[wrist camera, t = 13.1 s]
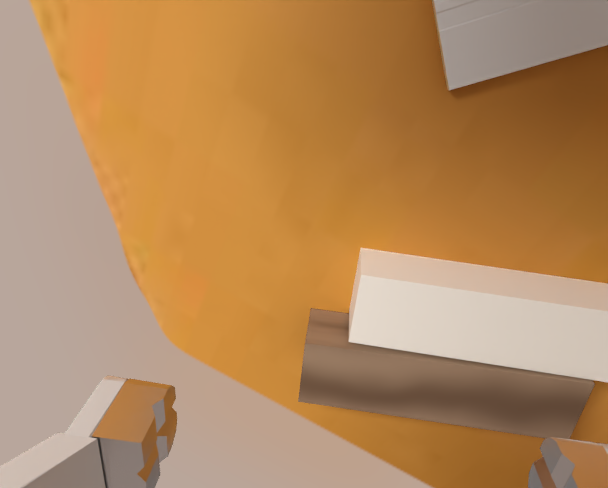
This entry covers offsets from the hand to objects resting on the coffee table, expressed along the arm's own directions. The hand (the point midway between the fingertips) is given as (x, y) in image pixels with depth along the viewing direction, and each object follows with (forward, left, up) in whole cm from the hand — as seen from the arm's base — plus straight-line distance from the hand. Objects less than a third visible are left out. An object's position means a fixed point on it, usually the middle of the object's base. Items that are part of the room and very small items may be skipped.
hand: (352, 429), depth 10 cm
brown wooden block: (+17, +9, -27) cm, 33 cm away
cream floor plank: (+11, +11, -27) cm, 32 cm away
